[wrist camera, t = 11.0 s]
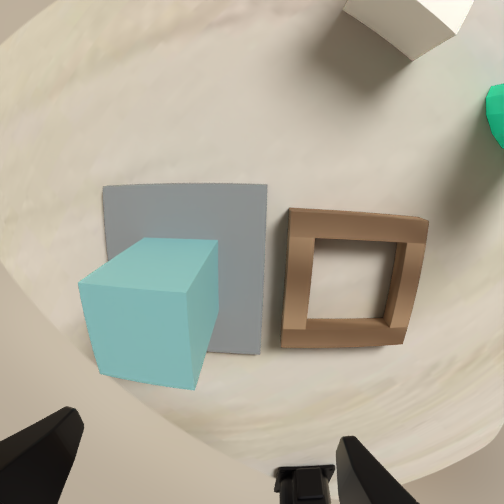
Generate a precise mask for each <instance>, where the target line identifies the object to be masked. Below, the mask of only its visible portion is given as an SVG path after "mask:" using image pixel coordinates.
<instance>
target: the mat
mask: <svg viewBox="0 0 504 504" xmlns="http://www.w3.org/2000/svg"><path fill="white" fill-rule="evenodd" d="M103 205H104V221H105V234H106V244H107V254H108V261H110V260H111V259H113V258H114V257H116V256H117V255H118V254H120V253H121V252H123V251H124V250H126V249H127V248H129V247H131V246H132V245H134V244H135V243H137V242H138V241H140V240H141V239H143V238H173V239H202V240H218V298H219V312H218V315H217V319H216V322H215V325H214V328H213V332H212V335H211V338H210V341H209V345H208V348H207V351H209V352H223V353H238V354H259V355H260V348H261V328H262V307H263V285H264V262H265V237H266V211H267V184H233V183H171V184H136V185H114V186H103Z"/></svg>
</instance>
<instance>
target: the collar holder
mask: <svg viewBox="0 0 504 504" xmlns="http://www.w3.org/2000/svg"><path fill="white" fill-rule="evenodd" d="M428 226H429V221H427V220H424V219H422V218H419V217H412V216H401V215H390V214H378V213H366V212H352V211H338V210H322V209H304V208H289V219H288V237H287V254H286V269H285V284H284V297H283V310H282V323H281V335H280V337H281V347H283V348H335V347H365V346H384V345H398V344H403V341H404V338H405V334H406V331H407V327H408V324H409V320H410V316H411V313H412V309H413V305H414V301H415V296H416V292H417V288H418V283H419V278H420V274H421V269H422V263H423V258H424V252H425V246H426V240H427V233H428ZM315 238H328V239H348V240H368V241H387V242H397V248H396V254H395V261H394V267H393V272H392V278H391V283H390V288H389V293H388V298H387V303H386V307H385V312H384V316H383V318H362V319H307V313H308V304H309V295H310V286H311V276H312V266H313V255H314V243H315Z"/></svg>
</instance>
